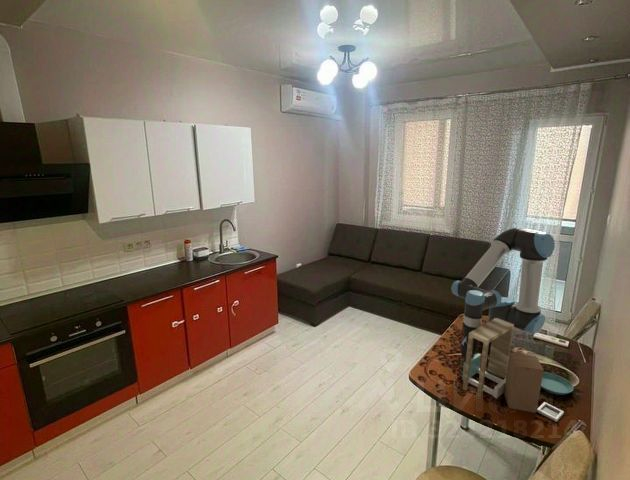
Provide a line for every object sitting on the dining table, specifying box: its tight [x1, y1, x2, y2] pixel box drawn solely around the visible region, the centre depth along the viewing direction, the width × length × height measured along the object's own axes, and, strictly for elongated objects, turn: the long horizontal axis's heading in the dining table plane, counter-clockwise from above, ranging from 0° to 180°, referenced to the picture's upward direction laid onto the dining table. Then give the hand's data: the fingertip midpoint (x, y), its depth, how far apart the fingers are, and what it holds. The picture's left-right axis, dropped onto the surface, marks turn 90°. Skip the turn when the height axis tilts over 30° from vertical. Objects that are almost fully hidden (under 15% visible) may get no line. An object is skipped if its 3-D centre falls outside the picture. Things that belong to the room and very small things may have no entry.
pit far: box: [536, 401, 565, 423], centre depth 137 cm, size 7×7×1 cm
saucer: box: [541, 371, 575, 396], centre depth 152 cm, size 15×15×3 cm
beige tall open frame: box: [462, 318, 515, 400], centre depth 152 cm, size 23×8×28 cm, turn 126°
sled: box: [462, 352, 506, 399], centre depth 153 cm, size 12×16×9 cm
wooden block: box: [503, 352, 545, 414], centre depth 140 cm, size 10×10×20 cm
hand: (466, 369), depth 161 cm, fingers closed
